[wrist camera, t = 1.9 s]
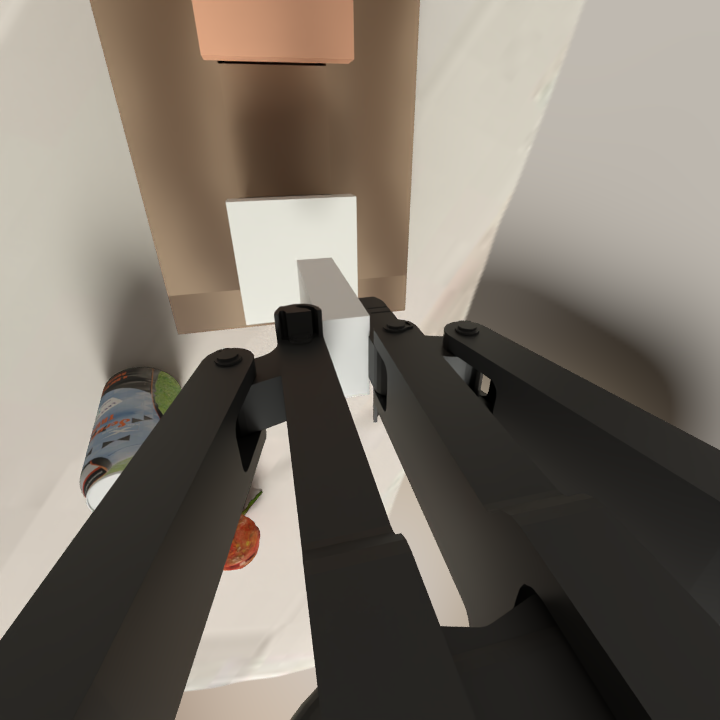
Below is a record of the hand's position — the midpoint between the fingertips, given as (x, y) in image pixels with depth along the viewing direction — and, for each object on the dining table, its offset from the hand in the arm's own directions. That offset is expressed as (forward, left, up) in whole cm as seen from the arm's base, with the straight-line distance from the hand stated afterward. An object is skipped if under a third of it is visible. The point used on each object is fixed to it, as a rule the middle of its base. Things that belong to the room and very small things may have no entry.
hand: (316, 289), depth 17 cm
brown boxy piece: (0, +6, -17) cm, 18 cm away
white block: (0, 0, -13) cm, 13 cm away
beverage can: (-13, -14, -17) cm, 26 cm away
